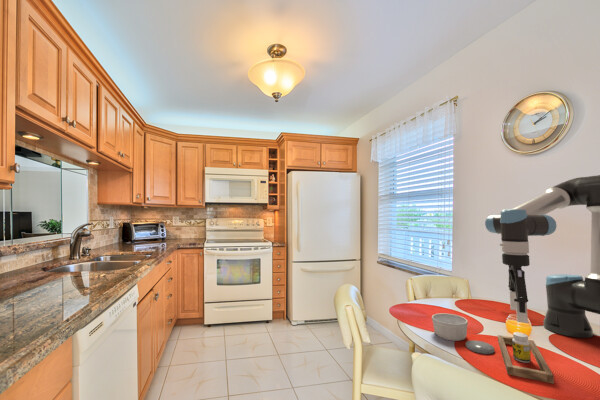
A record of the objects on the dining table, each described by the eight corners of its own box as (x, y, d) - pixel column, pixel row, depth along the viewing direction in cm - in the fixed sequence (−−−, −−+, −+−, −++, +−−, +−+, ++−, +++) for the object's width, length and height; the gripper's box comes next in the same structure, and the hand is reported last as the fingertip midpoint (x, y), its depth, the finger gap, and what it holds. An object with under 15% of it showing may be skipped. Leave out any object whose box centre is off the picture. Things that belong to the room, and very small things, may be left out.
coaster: (493, 345, 107) (493, 343, 107) (495, 356, 99) (495, 353, 99) (465, 341, 111) (465, 338, 111) (466, 350, 103) (465, 348, 103)
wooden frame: (533, 347, 105) (533, 340, 105) (554, 383, 82) (553, 375, 83) (497, 341, 110) (497, 335, 111) (507, 374, 88) (507, 366, 88)
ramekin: (425, 332, 120) (424, 315, 121) (447, 327, 126) (446, 311, 126) (453, 345, 108) (452, 326, 109) (476, 338, 113) (475, 321, 114)
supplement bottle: (509, 356, 99) (508, 331, 99) (522, 355, 99) (520, 331, 100) (521, 363, 94) (519, 337, 94) (534, 362, 94) (533, 336, 95)
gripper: (498, 249, 111) (500, 304, 110) (507, 257, 90) (510, 326, 88) (521, 250, 108) (525, 307, 106) (537, 258, 86) (541, 330, 85)
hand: (518, 315), depth 97 cm, fingers open, 13 cm apart
